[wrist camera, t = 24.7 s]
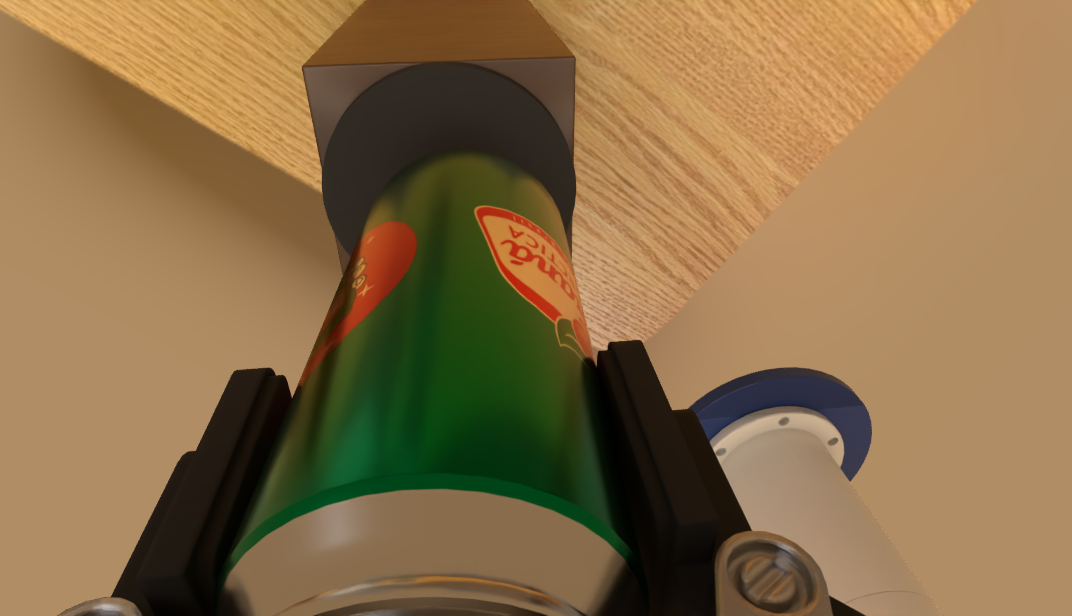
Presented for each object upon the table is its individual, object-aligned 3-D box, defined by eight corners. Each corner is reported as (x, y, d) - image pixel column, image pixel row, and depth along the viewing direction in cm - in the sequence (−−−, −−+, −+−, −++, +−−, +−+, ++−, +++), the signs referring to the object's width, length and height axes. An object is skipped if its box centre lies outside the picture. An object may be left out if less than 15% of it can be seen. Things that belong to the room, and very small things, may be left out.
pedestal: (527, 149, 37) (571, 287, 23) (386, 156, 36) (347, 303, 23) (524, -5, 33) (576, 56, 19) (364, -1, 32) (300, 66, 18)
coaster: (571, 287, 23) (574, 296, 23) (347, 303, 23) (345, 312, 22) (576, 56, 19) (579, 60, 19) (300, 66, 18) (296, 70, 18)
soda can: (588, 281, 18) (720, 772, 8) (423, 340, 18) (340, 864, 8) (520, 109, 15) (580, 501, 5) (332, 187, 16) (47, 669, 6)
